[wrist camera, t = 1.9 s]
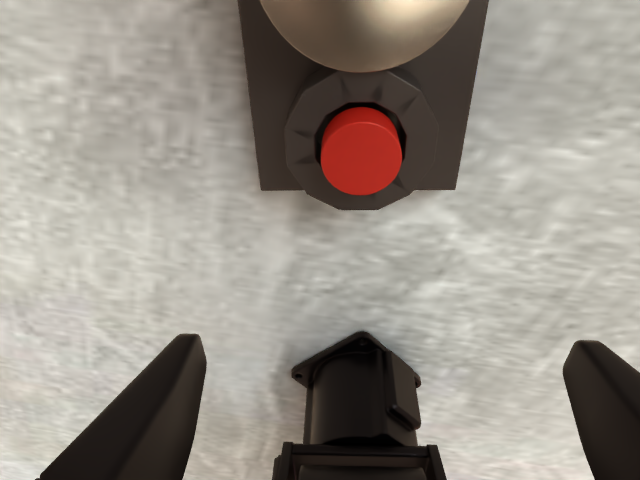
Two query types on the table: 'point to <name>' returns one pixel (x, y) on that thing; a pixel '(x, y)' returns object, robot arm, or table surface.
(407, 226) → the table surface
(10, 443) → the table surface
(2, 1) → the table surface
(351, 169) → the button
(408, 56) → the warming plate
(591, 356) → the robot arm
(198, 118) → the table surface
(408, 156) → the warmer
